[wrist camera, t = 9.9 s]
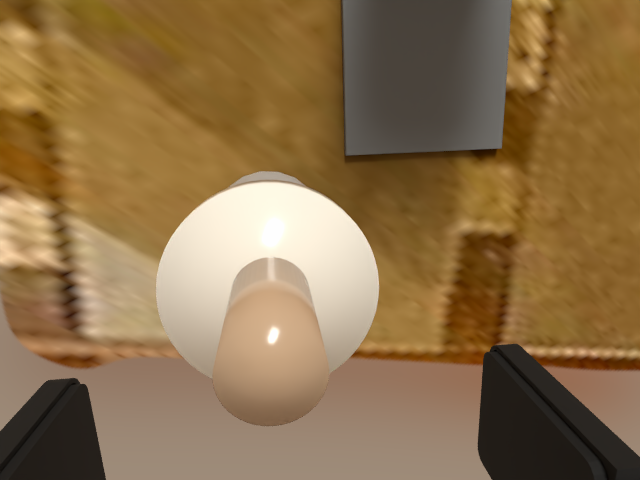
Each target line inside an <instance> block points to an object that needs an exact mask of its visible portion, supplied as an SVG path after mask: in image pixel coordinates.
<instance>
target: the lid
mask: <svg viewBox="0 0 640 480" xmlns="http://www.w3.org/2000/svg"><path fill="white" fill-rule="evenodd" d="M378 294H379V280H378V271H377V266H376V261H375V258H374V255H373V253H372V250H371V247H370V245H369V243H368V241H367V240H366V238H365V236H364V234H363V233H362V231H361V230H360V229H359V227H358V226H357V225H356V223H355V222H354V221H353V220H352V219H351V218H350V216H349V215H348V214H347V213H346V212H345V211H344V210H343V209H342V208H341V207H340V206H339V205H337V204H336V203H335V202H334V201H332V200H331V199H330V198H328V197H327V196H325V195H323V194H322V193H320V192H318V191H316V190H314V189H311V188H309V187H307V186H304V185H301V184H297V183H293V182H288V181H281V180H257V181H249V182H245V183H241V184H237V185H234V186H231V187H229V188H226V189H224V190H221V191H220V192H218V193H216V194H214V195H213V196H211V197H209V198H208V199H206V200H205V201H204V202H202V203H201V204H200V205H199V206H197V207H196V208H195V209H194V210H193V211H192V212H191V213H190V214H189V215H188V216H187V218H186V219H185V220H184V221H183V222H182V223H181V224H180V226H179V227H178V228H177V230H176V231H175V232H174V234H173V235H172V237H171V239H170V240H169V242H168V244H167V246H166V248H165V250H164V253H163V255H162V258H161V261H160V264H159V269H158V273H157V281H156V298H157V307H158V311H159V316H160V319H161V322H162V324H163V327H164V330H165V332H166V334H167V335H168V337H169V339H170V341H171V343H172V344H173V345H174V347H175V348H176V349H177V351H178V352H179V353H180V355H181V356H182V357H183V358H184V359H185V360H186V361H187V362H188V363H189V364H191V365H192V366H193V367H194V368H196V369H197V370H198V371H199V372H201V373H202V374H204V375H206V376H207V377H209V378H211V379H212V380H213V386H214V390H215V392H216V395H217V397H218V399H219V401H220V402H221V404H222V405H223V406H224V407H225V408H226V409H227V411H228V412H230V413H231V414H232V415H234V416H235V417H237V418H239V419H240V420H243V421H245V422H247V423H251V424H255V425H261V426H276V425H283V424H286V423H290V422H292V421H294V420H297V419H299V418H301V417H303V416H304V415H305V414H307V413H308V412H310V411H311V410H312V409H313V408H314V407H315V406H316V405H317V404H318V402H319V401H320V400H321V398H322V396H323V395H324V393H325V391H326V388H327V385H328V380H329V374H330V373H331V372H333V371H334V370H335V369H337V368H338V367H340V366H341V365H342V364H343V363H344V362H345V361H346V360H347V359H348V358H350V356H351V355H352V354H353V353H354V352H355V351H356V349H357V348H358V347H359V346H360V344H361V343H362V341H363V339H364V338H365V336H366V335H367V332H368V330H369V328H370V326H371V324H372V321H373V318H374V315H375V312H376V308H377V303H378Z"/></svg>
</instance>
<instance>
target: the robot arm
mask: <svg viewBox="0 0 640 480" xmlns="http://www.w3.org/2000/svg"><path fill="white" fill-rule="evenodd" d="M478 452H479V456H480V459H481V461H482V463H483V465H484V467H485V468H486V470H487V472H488V474H489V475H490V477H491V479H492V480H640V457H639V456H638V455H637V454H636V453H635V452H634V451H633V450H631V449H630V448H629V447H628V446H627V445H626V444H625V443H624V442H623V441H622V440H621V439H620V438H619V437H618V436H617V435H615V434H614V433H613V432H612V431H611V430H610V429H609V428H608V427H607V426H606V425H605V424H603V423H602V422H601V421H600V420H599V419H598V418H597V417H596V416H595V415H594V414H593V413H592V412H591V411H590V410H589V409H588V408H586V407H585V406H584V405H583V404H582V403H581V402H580V401H579V400H578V399H577V398H576V397H574V396H573V395H572V394H571V393H570V392H569V391H568V390H567V389H566V388H565V387H564V386H563V385H562V384H561V383H560V382H558V381H557V380H556V379H555V378H554V377H553V376H552V375H551V374H550V373H549V372H548V371H547V370H546V369H544V368H543V367H542V366H541V365H540V364H539V363H538V362H537V361H536V360H535V359H534V358H533V357H532V356H531V355H529V354H528V353H527V352H526V351H525V350H524V349H523V348H522V347H521V346H520V345H518V344H507V345H494V346H492V347H491V350H490V352H486V353H485V355H484V359H483V374H482V389H481V404H480V419H479V434H478ZM0 480H106V478H105V473H104V468H103V462H102V457H101V453H100V447H99V442H98V437H97V432H96V427H95V422H94V418H93V412H92V407H91V402H90V398H89V392H88V388H87V386H86V385H85V384H80V382H79V381H78V380H77V379H75V378H70V379H59V380H58V379H57V380H48V381H46V382H45V383H44V384H43V385H42V386H41V387H40V388H39V389H38V390H37V392H36V393H35V394H34V395H33V396H32V397H31V398H30V399H29V400H28V402H27V403H26V404H25V405H24V406H23V407H22V408H21V409H20V410H19V411H18V412H17V413H16V415H15V416H14V417H13V418H12V419H11V420H10V421H9V422H8V423H7V424H6V426H5V427H4V428H3V429H2V430H1V431H0Z"/></svg>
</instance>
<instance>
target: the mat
mask: <svg viewBox="0 0 640 480" xmlns="http://www.w3.org/2000/svg"><path fill="white" fill-rule="evenodd" d="M511 3H512V0H342V46H343V92H344V137H345V155H367V154H389V153H411V152H433V151H455V150H477V149H498V148H502V135H503V120H504V105H505V91H506V76H507V62H508V47H509V32H510V18H511Z"/></svg>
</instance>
